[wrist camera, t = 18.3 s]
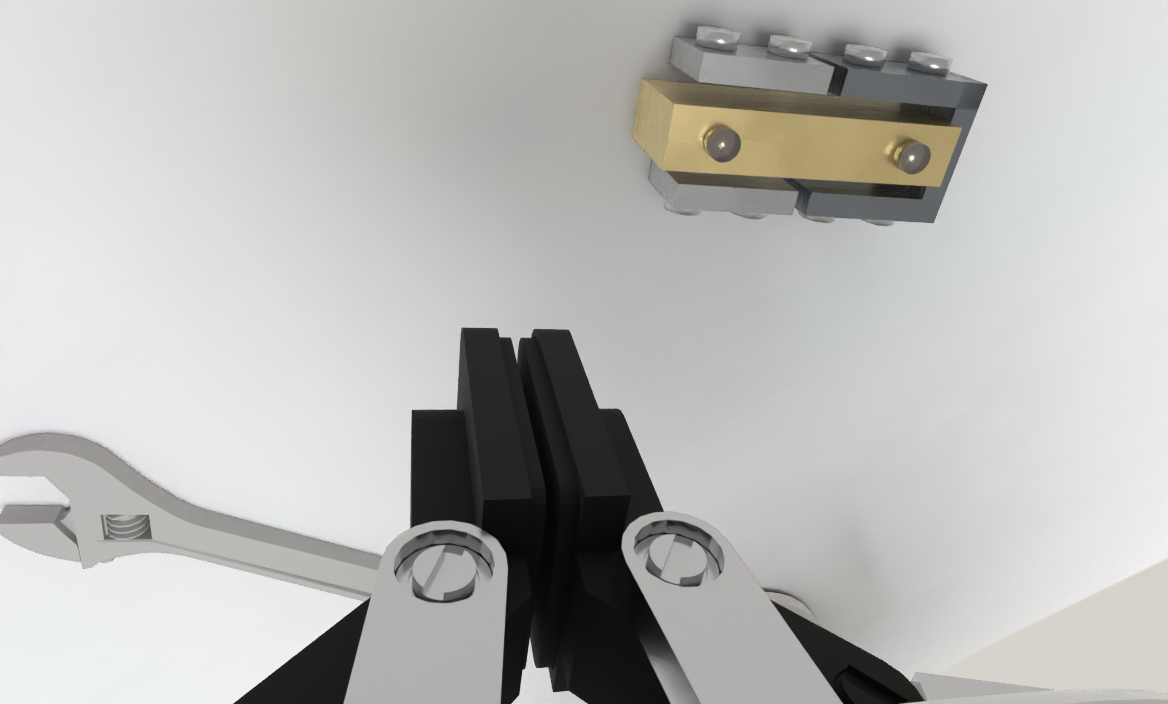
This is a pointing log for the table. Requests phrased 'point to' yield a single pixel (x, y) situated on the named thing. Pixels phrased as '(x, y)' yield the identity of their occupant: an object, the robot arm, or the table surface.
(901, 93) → the chain end dark
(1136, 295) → the table surface
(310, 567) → the adjustable wrench
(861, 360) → the table surface
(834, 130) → the master link
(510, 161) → the table surface
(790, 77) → the chain end grey
